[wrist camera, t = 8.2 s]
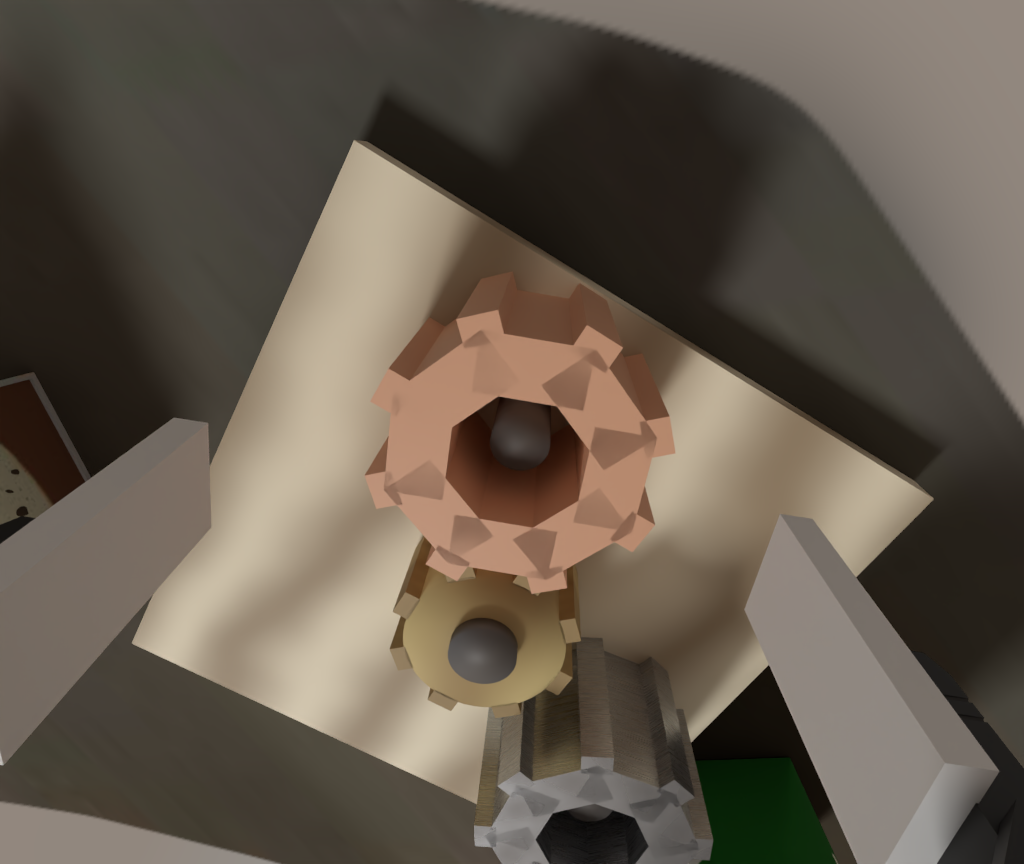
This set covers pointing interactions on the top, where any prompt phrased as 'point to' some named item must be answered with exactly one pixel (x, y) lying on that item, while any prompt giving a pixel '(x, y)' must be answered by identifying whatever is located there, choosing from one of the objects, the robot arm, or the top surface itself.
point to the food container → (33, 451)
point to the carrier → (516, 445)
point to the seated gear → (594, 771)
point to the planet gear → (466, 437)
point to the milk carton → (760, 814)
